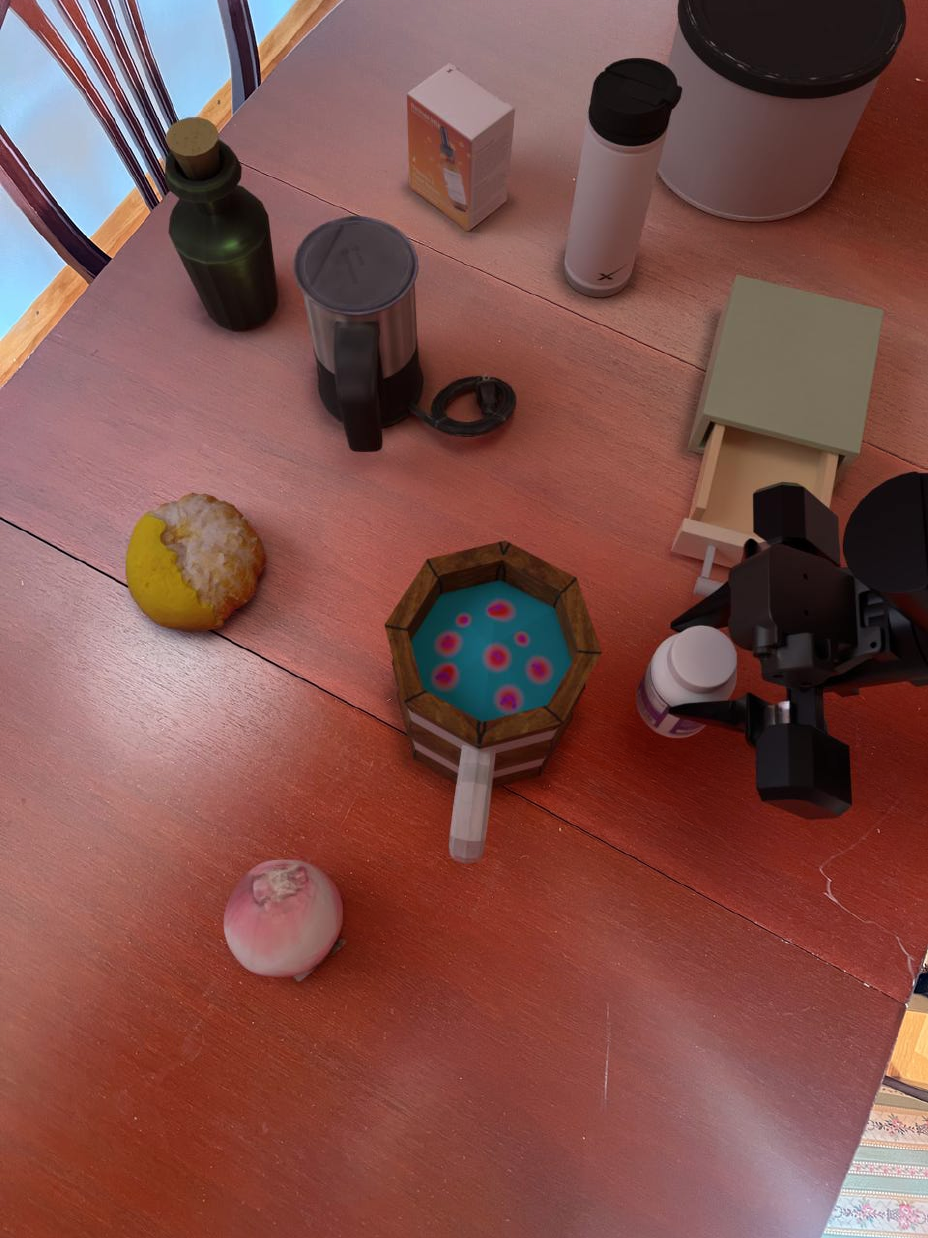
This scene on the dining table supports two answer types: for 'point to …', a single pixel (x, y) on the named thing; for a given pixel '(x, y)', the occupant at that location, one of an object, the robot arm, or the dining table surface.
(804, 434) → the cabinet
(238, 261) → the potion bottle
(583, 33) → the dining table surface
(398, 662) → the mug
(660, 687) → the pill bottle
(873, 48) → the container
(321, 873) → the turnip
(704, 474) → the drawer
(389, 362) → the milk frother
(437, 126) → the small box
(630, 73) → the travel mug
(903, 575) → the robot arm
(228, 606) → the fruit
